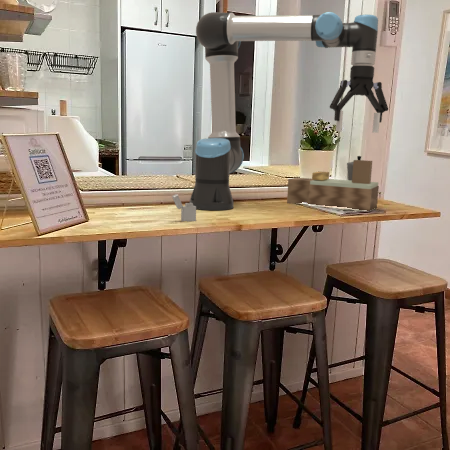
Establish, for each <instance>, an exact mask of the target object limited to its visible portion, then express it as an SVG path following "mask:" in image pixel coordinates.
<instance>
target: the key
mask: <svg viewBox="0 0 450 450" xmlns="http://www.w3.org/2000/svg"><path fill="white" fill-rule="evenodd" d="M311 179H312V180H326V179H330V172H329V171H316V172H315V171H314V172H312V175H311Z"/></svg>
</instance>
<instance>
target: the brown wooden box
mask: <svg viewBox="0 0 450 450" xmlns="http://www.w3.org/2000/svg"><path fill="white" fill-rule="evenodd" d="M287 181H288V182H287V194H286V195H287V196H286V198H287V199H286V203H287V204H291V203H302V202H307V203H308V204H316V205H325V206H337V207H347V208H352V209H359V210H367V211H370V210H372V209H374V208H375V209H376V208H378V200H379V199H378V198H379V188H380V187H379V185H378V186H377V187H374V188H372V189H362V188H350V187H337V186H325V185H312V184H310V181H312V178H309V177H308V178H307V177H292V178H287ZM375 209H374V210H375ZM372 211H373V210H372ZM370 212H371V211H370Z"/></svg>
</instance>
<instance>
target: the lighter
mask: <svg viewBox="0 0 450 450" xmlns="http://www.w3.org/2000/svg"><path fill="white" fill-rule="evenodd" d="M171 197H172V200H173V202H174V205H175V206H176V209H178V210H180V222H183V221H187V222H197V209H196V206H193V203H190V202H185V205H183V204H182V201H181V199H180V196H179V194H177V193H175V194H172V195H171Z"/></svg>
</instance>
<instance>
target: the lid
mask: <svg viewBox="0 0 450 450" xmlns="http://www.w3.org/2000/svg"><path fill="white" fill-rule="evenodd" d="M352 162H353V174H352V181H351V180H348V179H337V178H336V179H335V178H329V179H326V180H312V181H310V184H312V185H325V186H337V187H350V188H362V189H372V188H374V187H377V186H379V181H378V182H376V181H375V182H374V181H371V180H372V171H373V160H363V159H361V160H358V159H354V160H353V161H352Z"/></svg>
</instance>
